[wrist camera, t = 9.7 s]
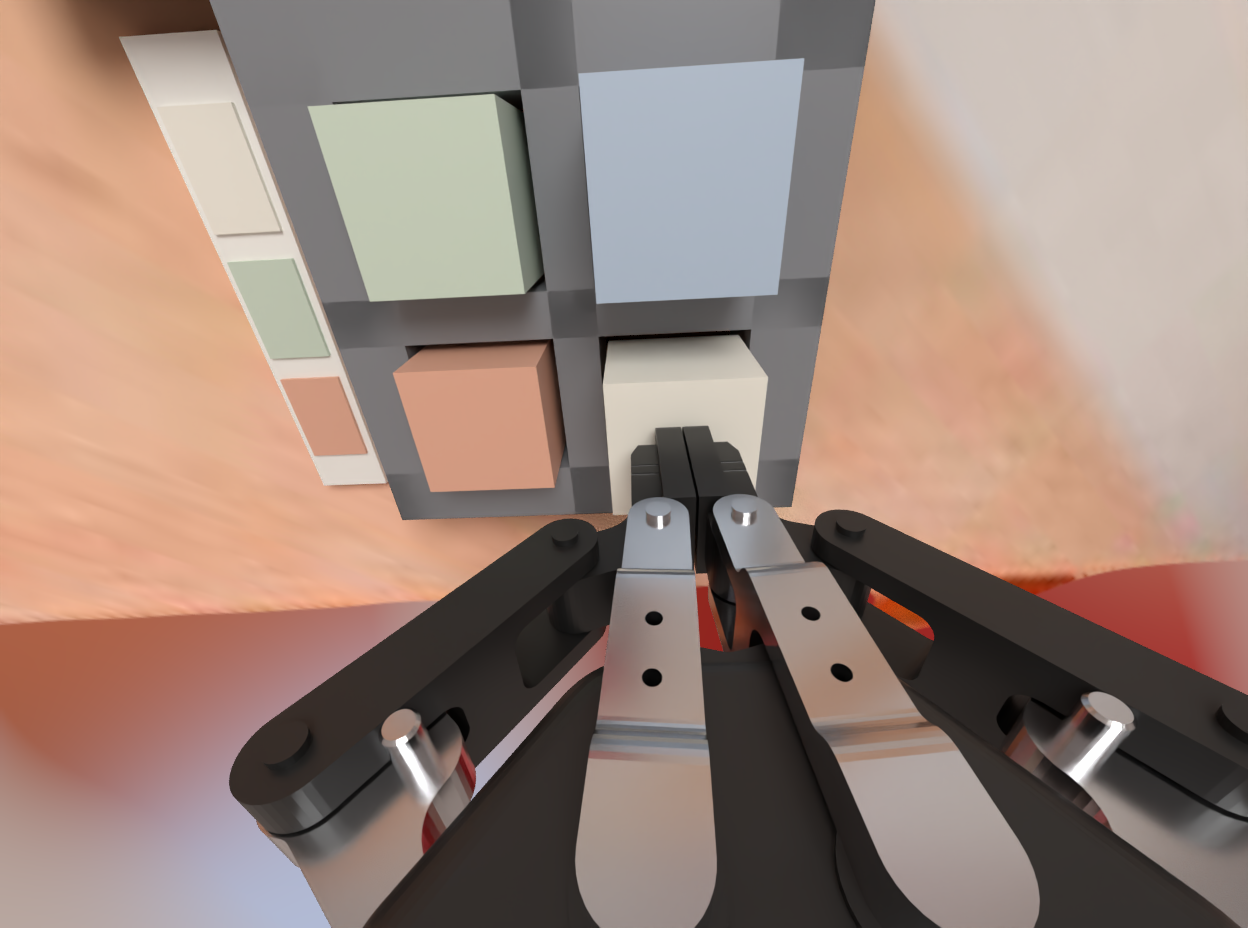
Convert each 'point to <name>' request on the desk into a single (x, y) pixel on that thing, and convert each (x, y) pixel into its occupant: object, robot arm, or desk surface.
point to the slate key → (689, 178)
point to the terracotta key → (485, 414)
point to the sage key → (434, 195)
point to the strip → (255, 241)
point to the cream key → (680, 398)
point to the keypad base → (549, 198)
